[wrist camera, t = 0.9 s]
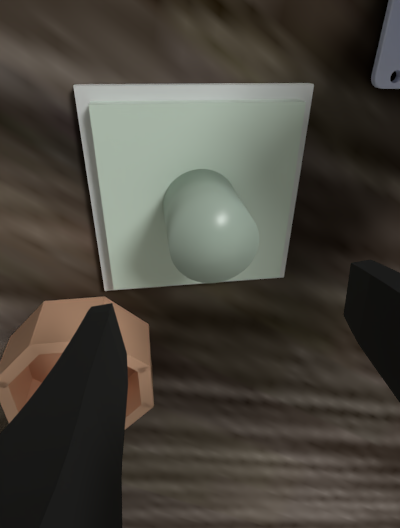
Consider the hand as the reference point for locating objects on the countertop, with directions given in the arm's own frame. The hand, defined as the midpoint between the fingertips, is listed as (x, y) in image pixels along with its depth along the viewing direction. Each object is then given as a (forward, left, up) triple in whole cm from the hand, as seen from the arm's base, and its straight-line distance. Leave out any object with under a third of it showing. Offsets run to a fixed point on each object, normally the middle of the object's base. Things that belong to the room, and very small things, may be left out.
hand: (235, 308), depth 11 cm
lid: (0, 0, -9) cm, 9 cm away
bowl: (+7, +10, -9) cm, 15 cm away
